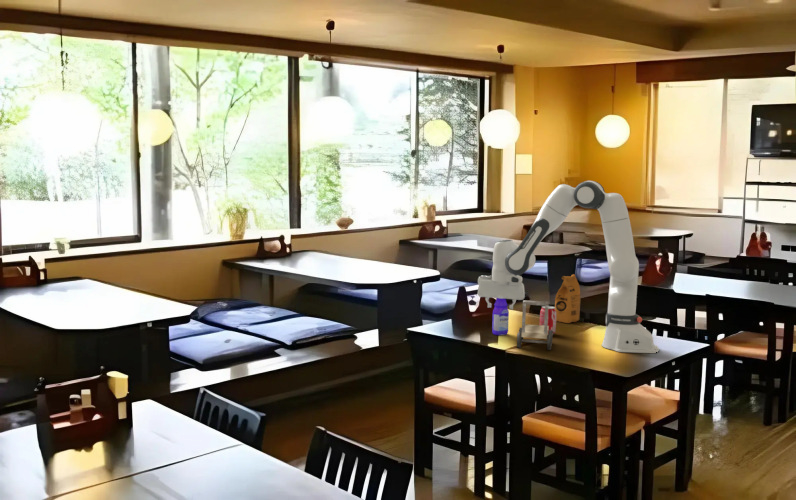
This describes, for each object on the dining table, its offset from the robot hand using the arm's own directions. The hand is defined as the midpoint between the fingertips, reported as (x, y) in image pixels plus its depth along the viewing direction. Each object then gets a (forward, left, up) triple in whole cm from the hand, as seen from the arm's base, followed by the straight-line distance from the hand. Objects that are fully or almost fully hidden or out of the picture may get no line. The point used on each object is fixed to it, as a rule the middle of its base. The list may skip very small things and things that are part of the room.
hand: (500, 308), depth 343 cm
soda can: (-20, -8, -12) cm, 25 cm away
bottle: (0, 0, -12) cm, 12 cm away
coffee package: (-28, -41, -12) cm, 51 cm away
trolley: (-16, +17, -11) cm, 26 cm away
